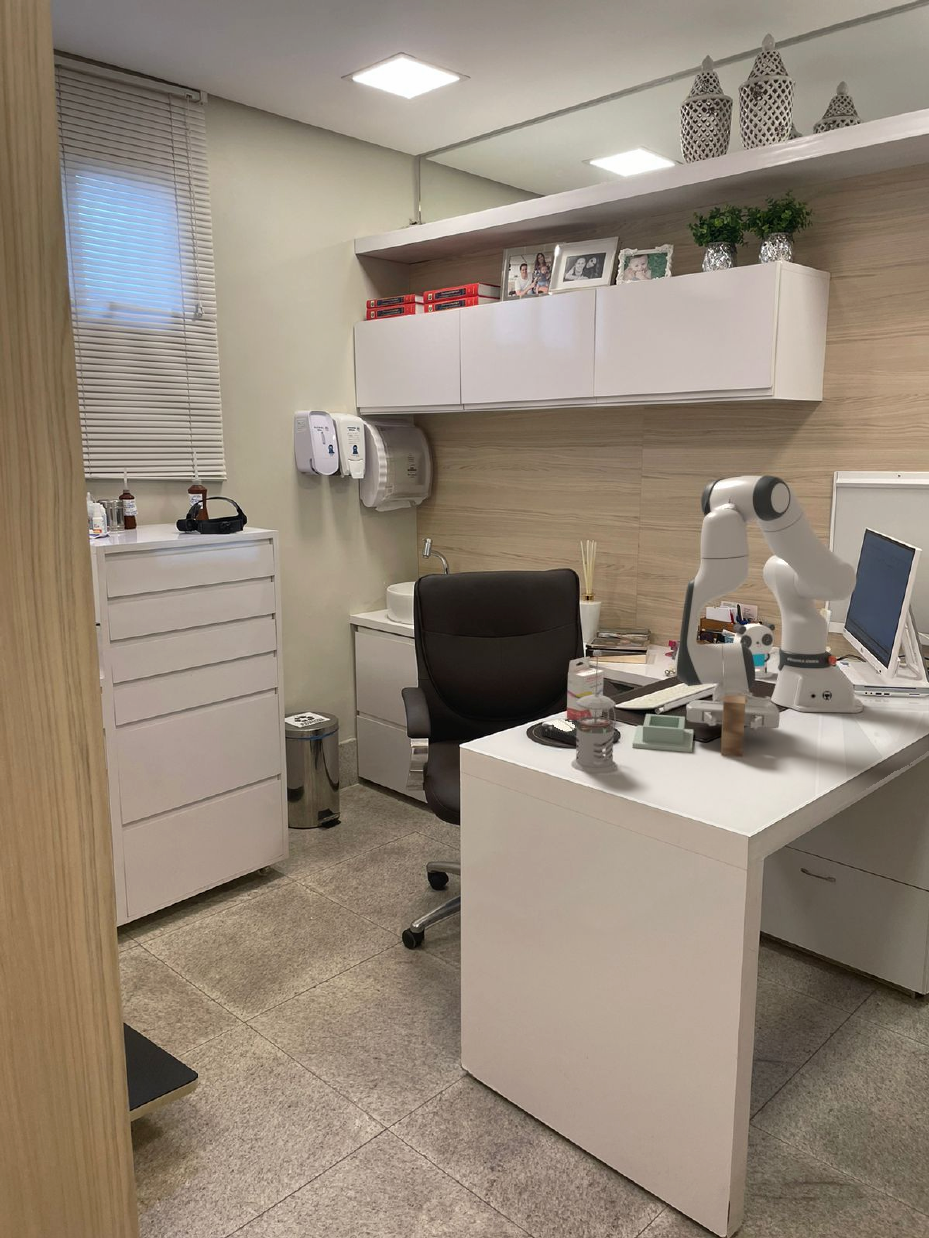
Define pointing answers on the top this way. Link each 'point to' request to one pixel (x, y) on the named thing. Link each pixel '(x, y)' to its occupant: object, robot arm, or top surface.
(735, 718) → the walnut block
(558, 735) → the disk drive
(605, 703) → the french press
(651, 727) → the socket dock
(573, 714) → the ink cartridge box
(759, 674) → the panda figurine
